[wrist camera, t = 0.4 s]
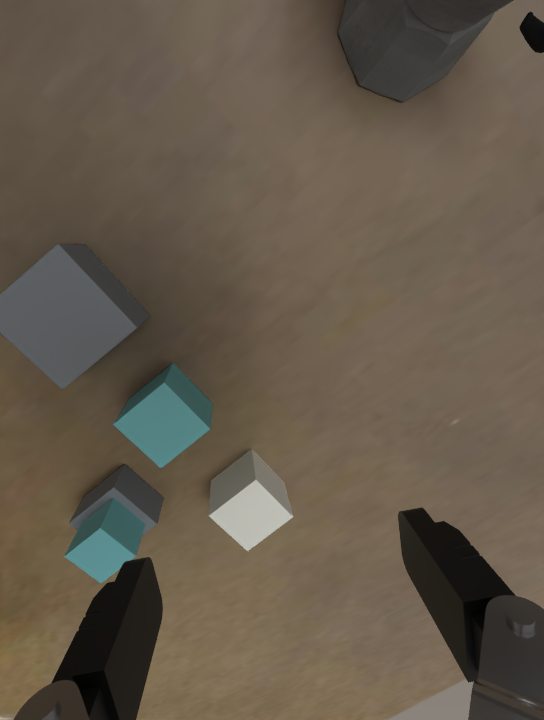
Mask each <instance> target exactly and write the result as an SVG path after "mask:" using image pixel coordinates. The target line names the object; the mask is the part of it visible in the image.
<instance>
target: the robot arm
mask: <svg viewBox="0 0 544 720" xmlns="http://www.w3.org/2000/svg"><path fill="white" fill-rule="evenodd" d="M398 521H399V530H400V540H401V550H402V557H403V561H404V564H405V567H406V570H407V572H408V574H409V576H410V578H411V580H412V582H413V584H414V585H415V587H416V589H417V591H418V593H419V594H420V596H421V598H422V600H423V602H424V603H425V605H426V607H427V609H428V611H429V613H430V614H431V616H432V618H433V620H434V622H435V623H436V625H437V627H438V629H439V631H440V632H441V634H442V636H443V638H444V640H445V641H446V643H447V645H448V647H449V649H450V650H451V652H452V654H453V656H454V658H455V659H456V661H457V663H458V665H459V667H460V668H461V670H462V672H463V674H464V676H465V677H466V679H467V681H468V682H473V681H474V683H473V688H472V694H471V702H470V710H469V718H468V720H544V609H543V608H541V607H540V606H539V605H537V604H535V603H534V602H532V601H529V600H527V599H525V598H522V597H518V596H515V594H514V593H513V592H512V591H511V590H510V589H509V587H508V586H507V585H506V584H505V583H504V582H503V580H502V579H501V578H500V577H499V576H498V575H497V573H496V572H495V571H494V570H493V569H492V568H491V567H490V565H489V564H488V563H487V562H486V561H485V560H484V558H483V557H482V556H480V555H479V553H478V551H477V550H476V549H475V548H474V547H473V546H471V544H470V542H469V541H468V540H467V539H466V538H465V536H464V535H463V534H462V533H461V532H460V531H459V530H458V529H456V528H454V527H453V526H451V525H449V524H448V523H446V522H444V521H442V522H437V523H435V522H434V521H433V520H432V518H431V517H430V516H429V515H428V513H427V512H426V511H425V510H424V509H423V508H417V509H411V510H406V511H400V512H399V513H398ZM162 612H163V606H162V597H161V593H160V589H159V586H158V582H157V578H156V574H155V570H154V566H153V563H152V560H151V558H150V557H147V558H141V559H136V560H130V561H125V562H124V563H123V565H122V567H121V569H120V571H119V573H118V576H117V578H116V580H115V582H109V583H107V584H106V585H105V586H104V587H103V588H102V589H101V590H100V591H99V593H98V594H97V595H96V596H95V597H94V598H93V600H92V602H91V604H90V606H89V608H88V610H87V612H86V617H84V618H83V620H82V622H81V624H80V626H79V631H77V632H76V634H75V636H74V638H73V641H72V643H71V645H70V647H69V649H68V651H67V653H66V655H65V657H64V659H63V661H62V663H61V665H60V667H59V669H58V671H57V673H56V675H55V677H54V679H53V681H52V683H51V684H49V685H47V686H46V687H44V688H42V689H41V690H39V691H38V692H37V693H35V694H34V695H33V696H32V697H31V698H30V699H29V700H28V701H27V702H26V703H25V704H24V705H23V706H22V708H21V709H20V710H19V712H18V713H17V715H16V716H15V718H14V720H136V717H137V714H138V710H139V706H140V702H141V698H142V694H143V690H144V686H145V683H146V679H147V675H148V671H149V667H150V663H151V659H152V656H153V652H154V648H155V644H156V640H157V636H158V632H159V629H160V625H161V621H162Z"/></svg>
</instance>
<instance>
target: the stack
mask: <svg viewBox="0 0 544 720" xmlns="http://www.w3.org/2000/svg"><path fill="white" fill-rule="evenodd" d="M163 499H164V498H163V497H162V496H161V495H160V494H158V493H157V492H156V491H155V490H154V489H153V488H152V487H151V486H149V485H148V484H147V483H146V482H145V481H144V480H143V479H141V478H140V477H139V476H138V475H137V474H136V473H135V472H134V471H132V470H131V469H130V468H129V467H128V466H127V465H126V464H124V465H122V466H121V467H120V468H119V469H117V470H116V471H115V472H114V473H112V474H111V475H110V476H109V477H107V478H106V479H105V480H104V481H103V482H101V483H100V484H99V485H98V486H96V487H95V488H94V489H93V490H91V491H90V492H89V493H88V494H86V495H85V496H84V497H83V499H82V501H81V503H80V504H79V506H78V508H77V510H76V511H75V513H74V515H73V517H72V518H71V520H70V522H69V524H70V525H72V526H73V527H74V528H76V529H77V530H78V531H77V533H76V535H75V537H74V539H73V541H72V543H71V545H70V547H69V548H68V550H67V552H66V554H65V556H64V557H66V558H67V559H68V560H70V561H71V562H73V563H74V564H75V565H77V566H78V567H79V568H81V569H82V570H83V571H85V572H86V573H87V574H89V575H90V576H92V577H93V578H94V579H96V580H97V581H98V582H100V583H102V582H103V581H105V580H106V579H107V578H109V577H110V576H111V575H113V574H114V573H115V572H116V571H118V570H119V569H120V568H121V567H122V565H123V563H124V562H125V561H130V560H132V559H133V558H134V557H136V555H137V551H138V548H139V544H140V541H141V537H142V536H143V535H144V534H145V533H147V532H148V531H149V530H150V529H152V528H153V527H154V526H156V525H157V523H158V519H159V515H160V511H161V507H162V503H163Z"/></svg>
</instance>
